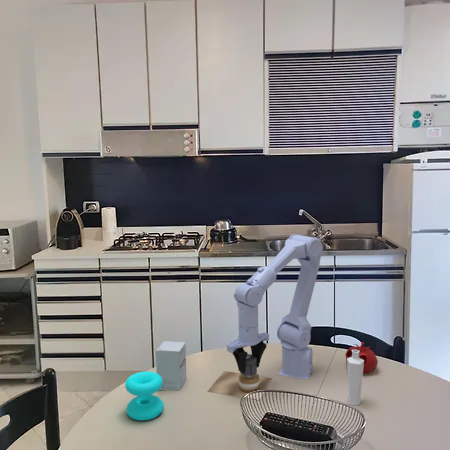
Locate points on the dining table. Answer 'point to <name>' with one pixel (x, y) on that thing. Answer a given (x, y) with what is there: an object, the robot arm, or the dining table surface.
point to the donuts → (144, 395)
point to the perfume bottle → (355, 377)
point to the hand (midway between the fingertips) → (248, 368)
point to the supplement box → (171, 364)
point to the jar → (248, 383)
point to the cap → (250, 365)
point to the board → (234, 384)
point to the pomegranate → (364, 357)
